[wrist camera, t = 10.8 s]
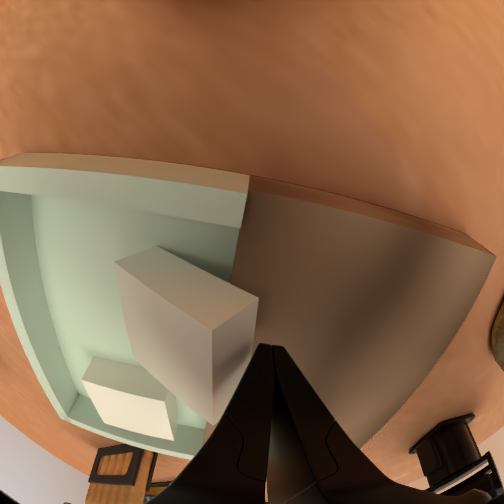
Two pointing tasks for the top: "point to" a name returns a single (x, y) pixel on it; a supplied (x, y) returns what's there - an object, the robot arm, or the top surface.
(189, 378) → the tile
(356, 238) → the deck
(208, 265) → the tray
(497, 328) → the weight
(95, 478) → the ammunition clip
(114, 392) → the tile
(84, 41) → the top surface
